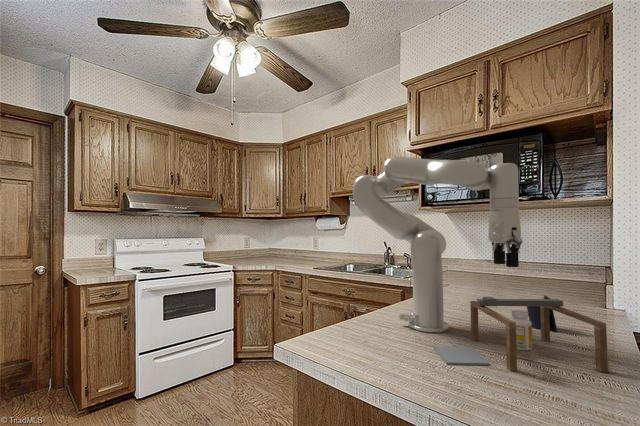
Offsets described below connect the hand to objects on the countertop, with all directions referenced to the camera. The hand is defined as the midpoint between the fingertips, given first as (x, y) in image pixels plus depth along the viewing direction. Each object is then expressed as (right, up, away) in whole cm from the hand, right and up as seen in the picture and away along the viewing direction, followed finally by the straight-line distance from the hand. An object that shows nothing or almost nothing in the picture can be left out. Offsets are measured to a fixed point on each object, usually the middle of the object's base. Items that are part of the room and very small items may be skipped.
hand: (505, 264), depth 95 cm
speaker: (+17, -22, +9) cm, 29 cm away
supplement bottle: (0, -22, -7) cm, 23 cm away
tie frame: (0, -21, -12) cm, 24 cm away
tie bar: (0, -10, -7) cm, 12 cm away
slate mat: (-20, -21, -14) cm, 32 cm away
